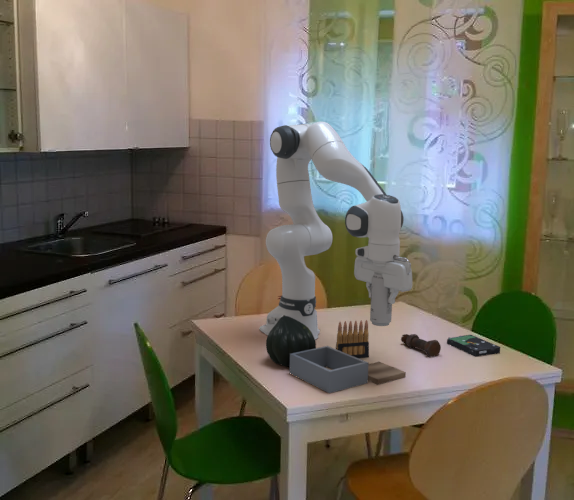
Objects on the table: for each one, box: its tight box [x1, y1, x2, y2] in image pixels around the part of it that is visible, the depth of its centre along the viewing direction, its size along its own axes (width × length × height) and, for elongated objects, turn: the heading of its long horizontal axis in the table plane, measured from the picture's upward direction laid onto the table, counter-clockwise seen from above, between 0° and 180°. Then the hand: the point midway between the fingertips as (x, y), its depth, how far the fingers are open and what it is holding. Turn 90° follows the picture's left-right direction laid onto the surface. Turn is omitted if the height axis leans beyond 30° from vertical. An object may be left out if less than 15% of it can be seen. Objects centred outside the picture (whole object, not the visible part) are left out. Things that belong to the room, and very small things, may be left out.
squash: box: [265, 315, 317, 367], centre depth 206 cm, size 14×15×15 cm
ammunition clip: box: [335, 319, 370, 359], centre depth 211 cm, size 11×2×12 cm, turn 107°
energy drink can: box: [369, 272, 393, 327], centre depth 193 cm, size 6×6×15 cm
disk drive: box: [446, 334, 501, 357], centre depth 224 cm, size 10×3×15 cm
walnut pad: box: [368, 361, 407, 386], centre depth 197 cm, size 11×11×2 cm
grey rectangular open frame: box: [289, 345, 369, 394], centre depth 193 cm, size 18×14×6 cm
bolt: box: [400, 333, 442, 358], centre depth 221 cm, size 6×5×15 cm
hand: (381, 300), depth 193 cm, fingers closed on energy drink can, 6 cm apart
